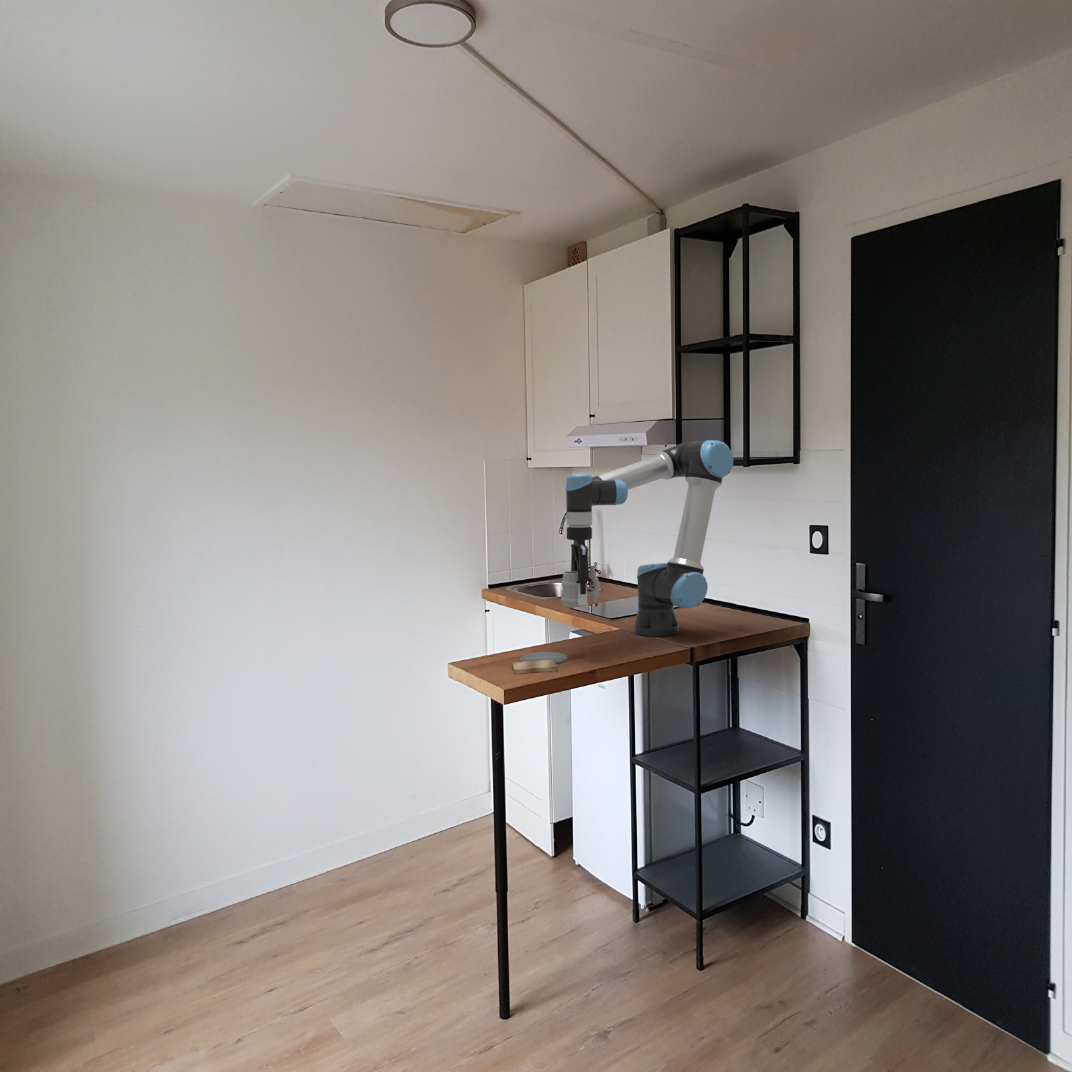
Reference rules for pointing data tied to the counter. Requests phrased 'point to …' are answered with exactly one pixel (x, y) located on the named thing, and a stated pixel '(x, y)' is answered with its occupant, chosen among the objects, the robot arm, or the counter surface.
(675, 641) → the counter surface
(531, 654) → the coaster
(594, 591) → the mug
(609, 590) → the counter surface
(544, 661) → the small board
